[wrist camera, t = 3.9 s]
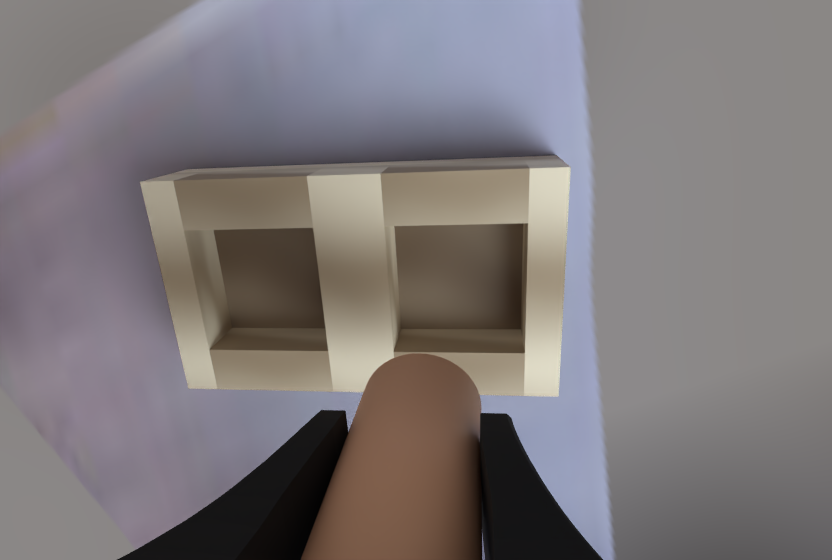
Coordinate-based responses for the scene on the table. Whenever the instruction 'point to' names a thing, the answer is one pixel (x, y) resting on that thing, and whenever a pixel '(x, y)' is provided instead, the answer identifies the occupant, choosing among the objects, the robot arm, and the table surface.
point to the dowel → (407, 469)
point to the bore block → (365, 270)
